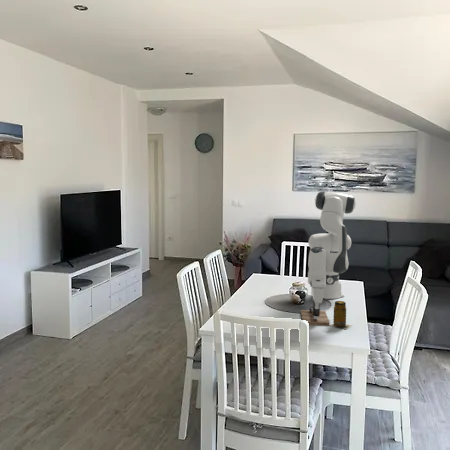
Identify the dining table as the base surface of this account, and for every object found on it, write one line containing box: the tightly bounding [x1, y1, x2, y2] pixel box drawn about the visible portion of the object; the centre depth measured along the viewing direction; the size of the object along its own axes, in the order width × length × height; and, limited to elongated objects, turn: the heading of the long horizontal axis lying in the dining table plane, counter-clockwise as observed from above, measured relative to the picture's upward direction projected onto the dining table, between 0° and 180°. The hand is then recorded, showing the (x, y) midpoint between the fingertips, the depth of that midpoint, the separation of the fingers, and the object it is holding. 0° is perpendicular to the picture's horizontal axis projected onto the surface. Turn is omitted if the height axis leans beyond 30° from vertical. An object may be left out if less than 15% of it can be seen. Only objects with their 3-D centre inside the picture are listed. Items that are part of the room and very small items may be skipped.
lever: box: [308, 298, 321, 319], centre depth 236 cm, size 19×4×10 cm, turn 174°
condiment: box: [329, 300, 353, 330], centre depth 226 cm, size 7×8×12 cm
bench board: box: [300, 309, 331, 327], centre depth 237 cm, size 20×13×2 cm, turn 174°
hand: (316, 307), depth 229 cm, fingers closed on lever, 4 cm apart
